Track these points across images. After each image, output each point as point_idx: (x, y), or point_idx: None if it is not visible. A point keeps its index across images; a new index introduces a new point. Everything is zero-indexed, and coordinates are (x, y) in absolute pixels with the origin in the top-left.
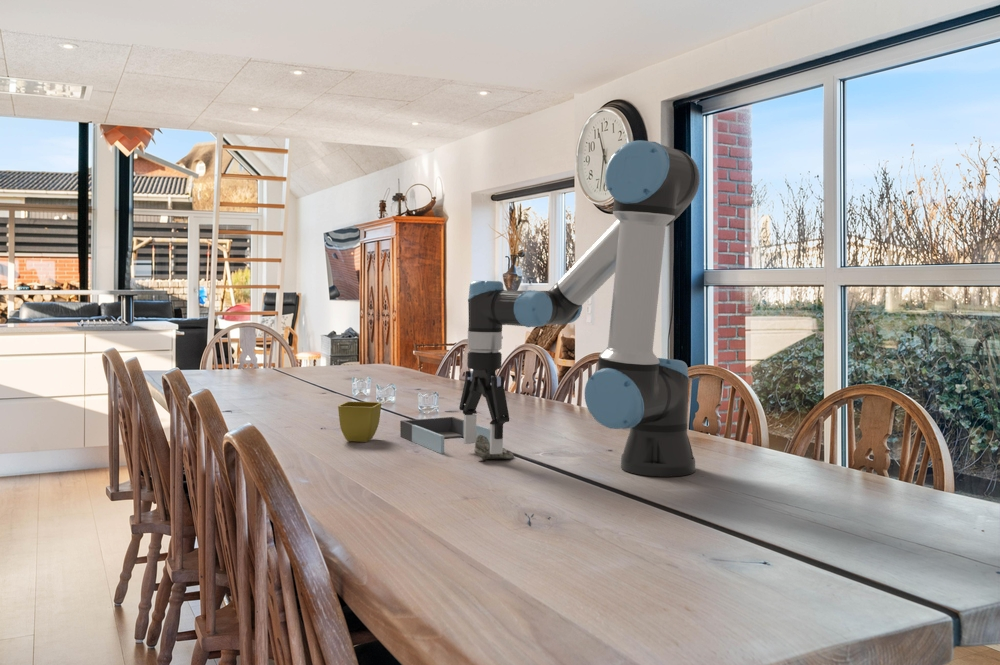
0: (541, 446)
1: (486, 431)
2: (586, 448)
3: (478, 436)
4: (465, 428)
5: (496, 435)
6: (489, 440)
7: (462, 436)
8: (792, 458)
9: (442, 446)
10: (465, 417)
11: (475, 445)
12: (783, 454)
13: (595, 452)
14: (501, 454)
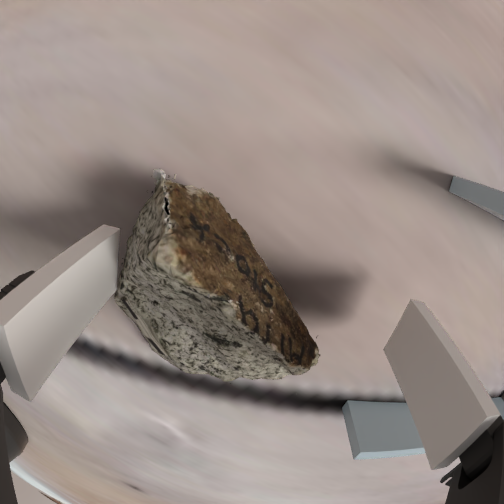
0: (259, 473)
1: (416, 439)
2: (173, 488)
3: (158, 239)
4: (449, 352)
5: (19, 282)
6: (389, 418)
7: (502, 396)
8: (31, 483)
9: (471, 190)
10: (484, 404)
11: (173, 187)
12: (49, 494)
13: (127, 472)
14: (118, 287)
